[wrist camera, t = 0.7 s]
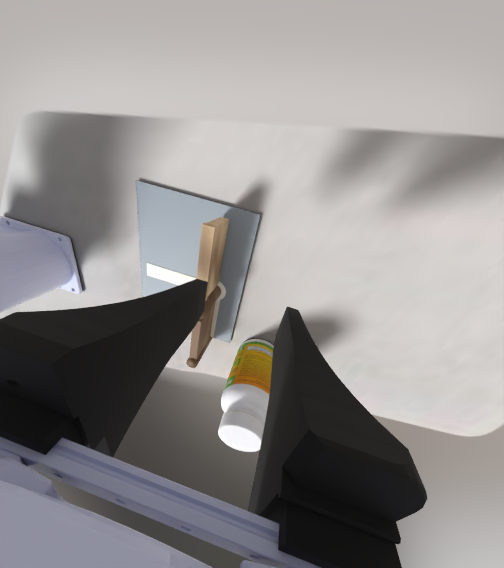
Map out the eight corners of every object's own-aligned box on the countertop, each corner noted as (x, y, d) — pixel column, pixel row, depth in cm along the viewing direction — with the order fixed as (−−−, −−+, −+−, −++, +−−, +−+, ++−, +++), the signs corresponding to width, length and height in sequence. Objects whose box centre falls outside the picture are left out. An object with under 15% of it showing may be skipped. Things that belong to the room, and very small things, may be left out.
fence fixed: (202, 337, 26) (184, 365, 22) (209, 280, 22) (189, 302, 18) (213, 340, 26) (197, 369, 22) (223, 284, 22) (206, 307, 18)
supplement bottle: (240, 332, 24) (210, 412, 16) (284, 343, 24) (276, 432, 15) (237, 362, 27) (209, 445, 18) (276, 372, 26) (265, 463, 18)
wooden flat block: (219, 283, 21) (204, 302, 18) (210, 280, 21) (194, 298, 18) (230, 219, 18) (214, 227, 14) (219, 216, 18) (201, 223, 14)
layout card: (145, 313, 26) (143, 314, 26) (138, 180, 18) (135, 180, 18) (230, 341, 25) (229, 343, 25) (260, 214, 18) (259, 215, 17)
